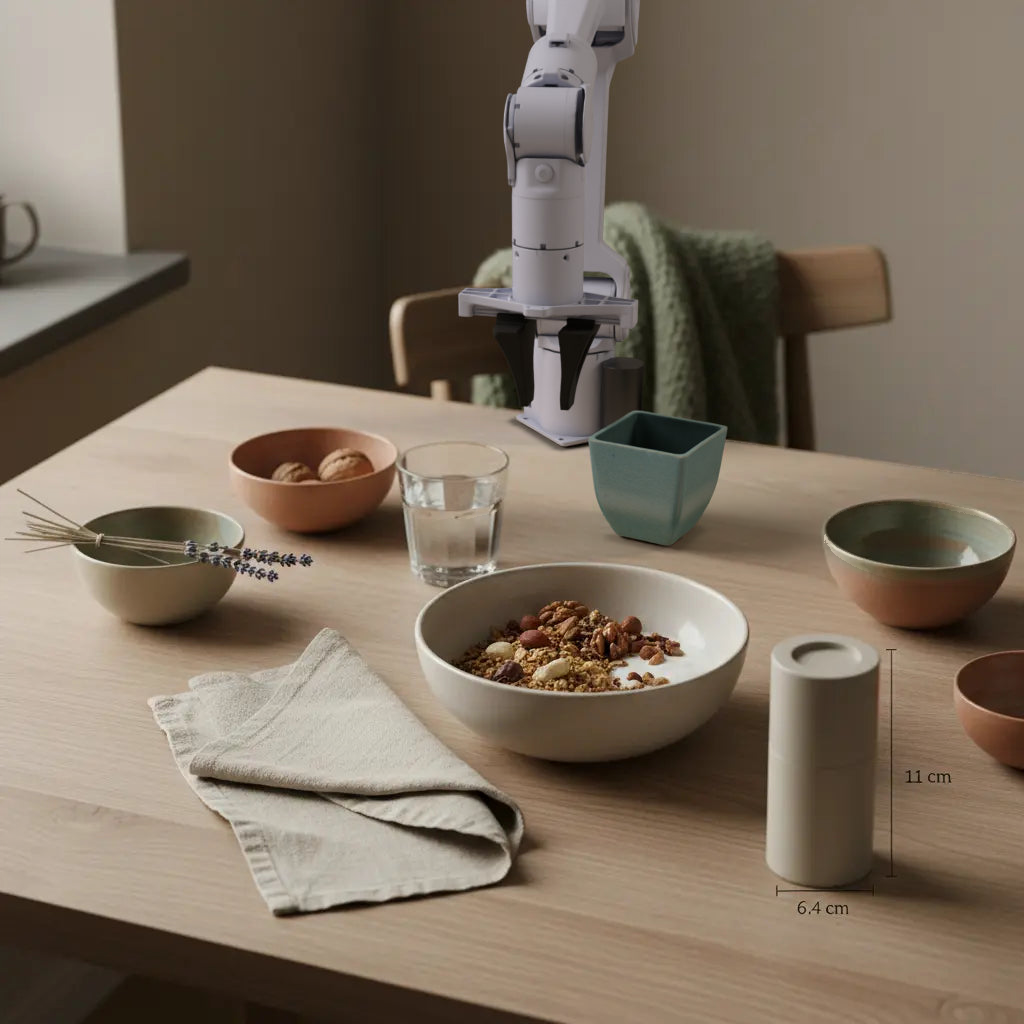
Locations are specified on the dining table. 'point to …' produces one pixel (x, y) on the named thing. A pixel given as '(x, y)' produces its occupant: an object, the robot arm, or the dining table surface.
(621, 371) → the cylinder
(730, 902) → the dining table surface
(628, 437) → the flower pot
